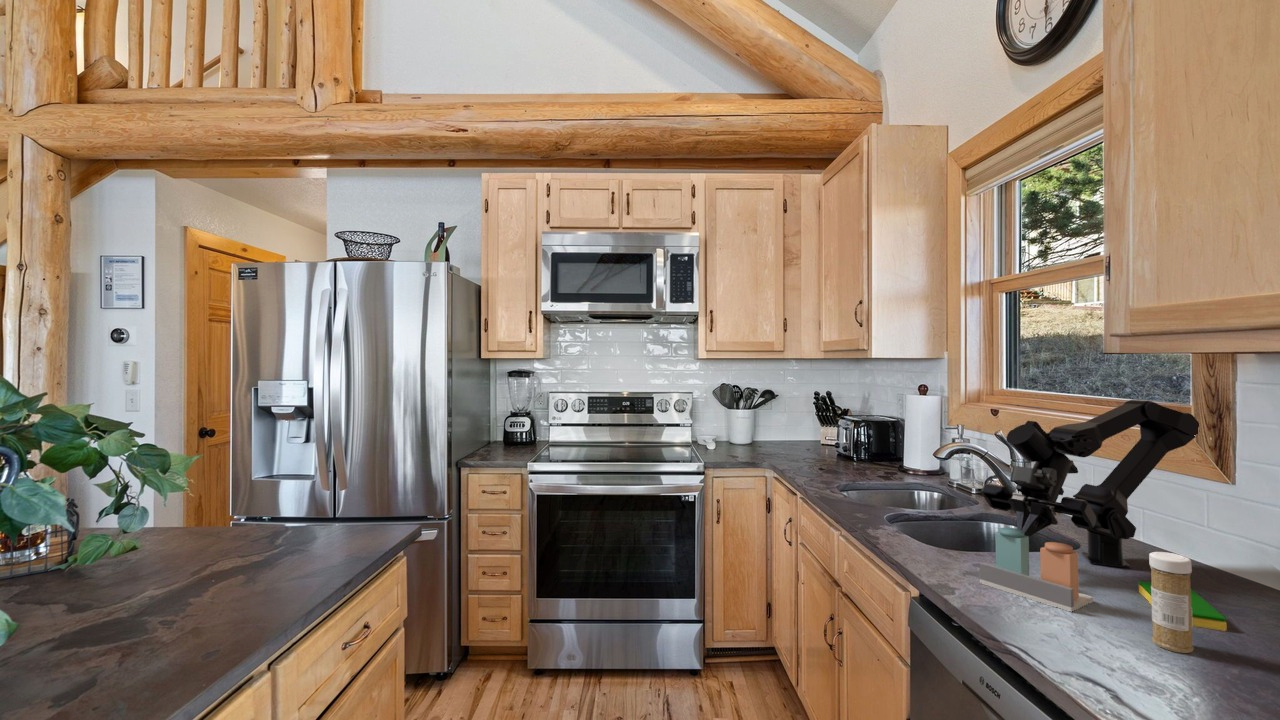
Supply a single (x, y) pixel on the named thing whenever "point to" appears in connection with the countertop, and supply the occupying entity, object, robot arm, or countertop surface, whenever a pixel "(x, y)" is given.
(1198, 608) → the dish sponge
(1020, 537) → the button teal
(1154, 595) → the sprinkles bottle
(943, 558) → the countertop surface
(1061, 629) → the countertop surface
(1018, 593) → the button console
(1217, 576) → the countertop surface
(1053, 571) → the orange domed block
